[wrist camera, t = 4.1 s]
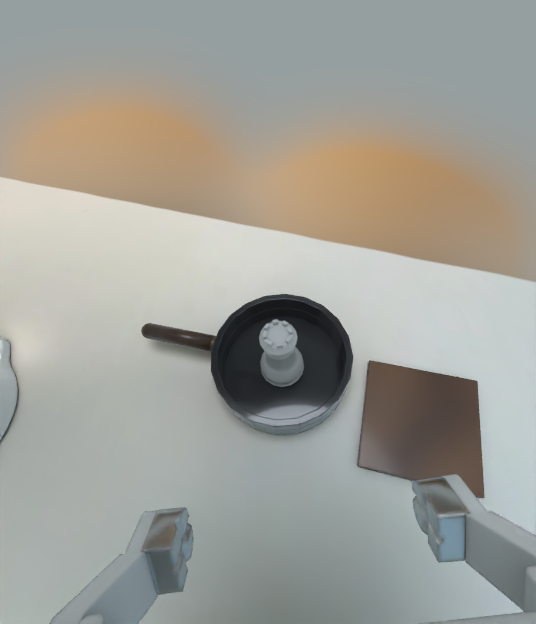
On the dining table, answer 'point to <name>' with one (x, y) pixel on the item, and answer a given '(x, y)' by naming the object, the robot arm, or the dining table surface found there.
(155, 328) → the pan handle
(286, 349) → the rook chess piece
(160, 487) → the dining table surface
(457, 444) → the plate
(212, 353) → the pan
